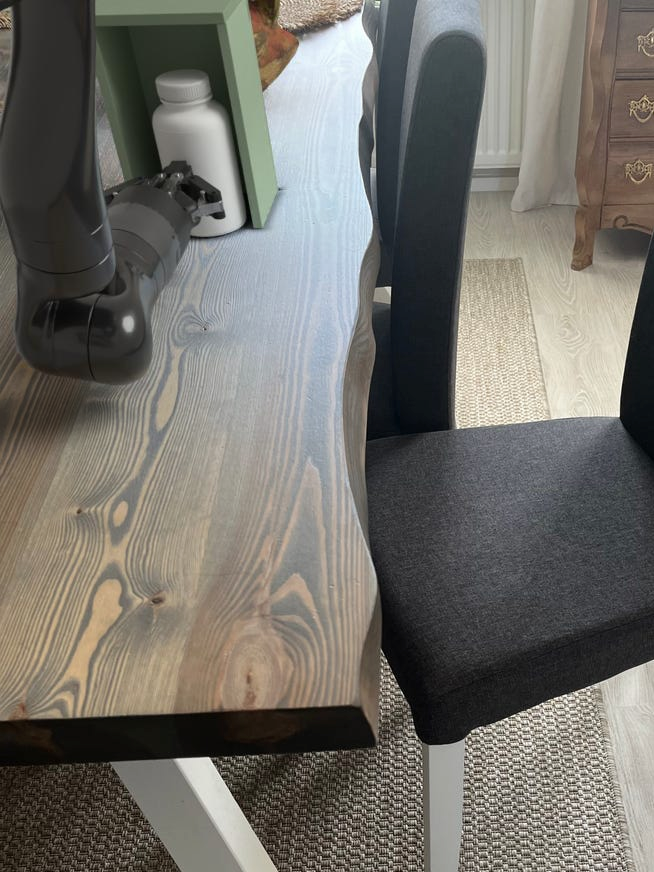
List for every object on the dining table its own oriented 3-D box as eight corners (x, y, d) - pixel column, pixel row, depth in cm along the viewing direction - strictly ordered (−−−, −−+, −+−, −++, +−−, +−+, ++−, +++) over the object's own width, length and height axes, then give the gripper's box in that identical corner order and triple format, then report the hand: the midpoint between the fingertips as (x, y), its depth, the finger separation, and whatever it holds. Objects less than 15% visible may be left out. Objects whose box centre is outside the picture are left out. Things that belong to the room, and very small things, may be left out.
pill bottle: (203, 245, 108) (169, 94, 98) (162, 225, 112) (125, 77, 102) (262, 222, 112) (236, 74, 102) (221, 203, 116) (192, 59, 106)
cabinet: (261, 230, 111) (223, 12, 96) (136, 232, 111) (78, 15, 96) (279, 187, 119) (245, -19, 104) (162, 189, 120) (112, -16, 105)
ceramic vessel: (116, 97, 144) (60, -119, 127) (294, 75, 150) (264, -135, 132) (125, 136, 133) (65, -95, 115) (317, 111, 138) (289, -114, 120)
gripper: (200, 202, 90) (237, 130, 102) (54, 205, 90) (108, 133, 102) (218, 282, 95) (251, 205, 107) (80, 284, 96) (129, 207, 108)
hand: (181, 170), depth 105 cm, fingers closed
